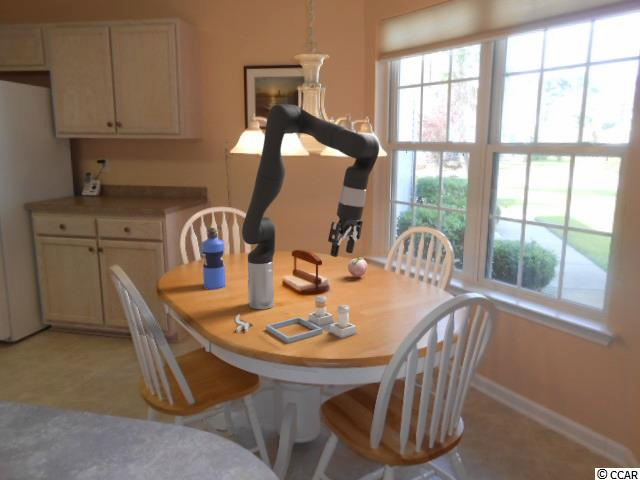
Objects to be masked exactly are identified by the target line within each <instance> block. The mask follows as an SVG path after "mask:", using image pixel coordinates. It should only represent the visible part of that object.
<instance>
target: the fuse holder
mask: <svg viewBox="0 0 640 480" xmlns="http://www.w3.org/2000/svg"><path fill="white" fill-rule="evenodd" d="M333 316H334V315H333V314H331V313H329V312H327V311H326V316H324V317H320V318H318V317H316V316H315V311H314V312H311V313H308V319H306V320H307V321H309V322H311V323H313V324H314V325H316V326H318V327H320V328H322V329H323V331H325V332H327V333H329V334H331V335H332V336H335V337H336V338H338V339H340V340H343V339H346V338H349V337H352V336H356V335H358V334H359V333H358V332H357V326H356V325H355V324H352V323H350V322H349V327H348V328H344V329H341V328H339V327H338V322H335V321H334V317H333Z"/></svg>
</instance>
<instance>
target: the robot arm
mask: <svg viewBox="0 0 640 480" xmlns="http://www.w3.org/2000/svg"><path fill="white" fill-rule="evenodd" d="M264 131H265V132H264V138H263V139H264V140H263V146H262V150H261V157H260V160H259V166H258V169H257V173H256V177H255V181H254V182H255V183H254V188H253V190H252V195H251V199H250V203H249V205H248V209H247V212H246V215H245V217H244V220H243V223H242V228H241V234H242V239H243V241H244V242H245V244H247V245H256V246H255V248H254V249H253V250H251V251H250V252H249V253H248V254H247V277H248V279H247V297H248V307H249V308H250V309H254V310H267V309H270V308H273V307H274V305H275V300H274V294H275V293H274V255H275V250H276V249H275V248H276V227H275V224H274V221H273V220H272V219H271V218H269V217H267V216H264V215H265V213H266V211H267V209H268V208H269V207H270V205H272V203H273V202H274V200H276V198H277V197H278V196H279V194H280V192H281V190H282V188H283V184H284V180H285V176H286V175H285V174H286V167H285V163H284V160H283V157H282V150H281V149H282V145H283V140H284V137H285V134H286V135H287V134H290V135H291V134H294V133H295V134H304V135H308V136H311V137H312V138H314V139H315V141H317V142H318V143H319V144H321V145H323V146H326V147H327V148H330V149H333V150H335V151H336V150H337V151H338V152H340V153H342V154H344V155H345V156H347V157H350V158H353V159H355V160H354V163H353V164H352V165H351V166H347V168H346V169H345V172H344V178H343V182H342V187H341V191H340V193H339V199H338V203H337V204H338V205H337V209H336V216H337V217H338V219H339V220H338V221H337V222H334V221H332V222H331V224H330V230H329V234H328V238H327V242H329V243H331V248H330V253H329V254H330V256H331V257H334V258H337V257H338V256H339V252H340V251H339V250H340V246H341V243H342V241H344V240H345V239H346V237H347V239H348V240H347V243H346V248H345V252H346V253H348V254H353V253H354V249H355V243H356V242H357V240H360V239H361V234H362V229H363V223H364V221H363V220H362V218H363V214H364V213H363V212H364V208H365V203H366V197H367V188H368V185H369V184H368V183H369V178H370V174H371V173H372V170H373V168H374V167H375V164H376V161H377V159H378V157H379V153H380V152H379V151H380V143H379V141H378V139H377V137H376V136H374V135H371V134H365V133H364V134H363V133H359V132H355V131H352V130H350V129H348V128H347V127H345V126H342V125H339V124H336V123H334V122H331V121H327V120H324V119H322V118H319V117H317V116H315V115H313V114H311V113H309V112H308V111H307V110H304V109H303V108H301V107H299V106H297V105H295V104H285V103H284V104H283V103H278V104H274V105H272V106H271V108H270V109H269V111H268V113H267V118H266V124H265V130H264Z"/></svg>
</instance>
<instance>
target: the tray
mask: <svg viewBox="0 0 640 480" xmlns="http://www.w3.org/2000/svg"><path fill="white" fill-rule="evenodd" d="M307 320H308V319H305V318H303V317H301V316H298V317H293V318H290V319H286V320H282V321H278V322H274V323H270V324H266V325H265V329H266V331H267V332H269V333H271V334H272V335H274V336H275V337H276V338H279V339H280V340H282V341H284V342H285V343H286V344H291V343H294V342H297V341H301V340H305V339H307V338H311V337H312V338H313V337H315V336H318V335H321V334H323V332H324V330H323V329H322V328H320V327H318V326H316V325H314V324H313V323H311V322H309V321H307ZM298 323H300V324H301V325H303V326H305V327H306V328H309V329H310V330H308V331H305V332H301V333H298V334H295V335H291V336H287V335H286V334H284V333H283V332H282V331H279V330H278V329H279V328H282V327H286V326H290V325H293V324H298Z"/></svg>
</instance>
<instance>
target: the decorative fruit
mask: <svg viewBox="0 0 640 480" xmlns="http://www.w3.org/2000/svg"><path fill="white" fill-rule="evenodd" d="M347 269H348V273H350V274H351V276H353V277H355V278H357V279H359V278H361V277H362V276H364V275H365V274H366V272H367V270H368V263H367V261H366V260H365V259H364V257H360V256H358V257H357V258H352V259H351V260H350V261H349V262H348V264H347Z"/></svg>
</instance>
